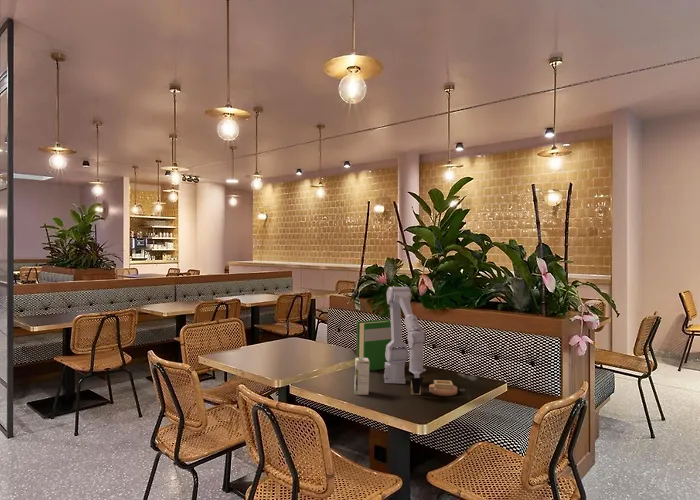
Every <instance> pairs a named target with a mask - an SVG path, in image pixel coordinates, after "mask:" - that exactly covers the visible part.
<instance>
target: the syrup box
mask: <svg viewBox="0 0 700 500" xmlns="http://www.w3.org/2000/svg"><path fill="white" fill-rule="evenodd" d="M354 359H355V360H354V362H355V363H354V383H353V384H354V388H353V389H354V390H353V391H354V395H355V396H360V395H361V396H364V395H365V396H366V395H367V396H368V395H369V391H370V388H369V387H370V371H369V359H368V358H357V357H355V358H354Z"/></svg>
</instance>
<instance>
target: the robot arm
mask: <svg viewBox="0 0 700 500" xmlns="http://www.w3.org/2000/svg"><path fill="white" fill-rule="evenodd" d="M411 297H412V292H411V289H410V287H409V286H389V287H388V288H387V290H386V302H387V304H386V305H389V313H390V314H389V315H390V321H391V342H390V343H388V344H387V345H386V351H385V357H386V360H387V361H388V362H385V369H384V374H383V379H384V383H385V384H399V385H400V384H401V385H403V384H405V385H406V378H405V368H406V367H405V365H406V362H407V361H408V359H409V367H408V373H409V375H410V376H409V379H410V382H411V381H412V385H413V392H414V393H417V394H419V391H420V386H421V387H422V383H423V381H424V376H422V374H423V373H424V372H426V371H427V369H426V368H424V344H425V343H426V341H427V334H426V331H425V329H423V327H421V326H420V322H419V320H418V317H417V316H416V315H415V314H414V313H413V312H414V311H413V309H412V305H411V301H410V300H411ZM402 312H403V314H404V320H403V322H404V325H405V327H406V330H407V343H408V344H406V343H405V342H404V341H403V332H402ZM408 348H409V349H408Z"/></svg>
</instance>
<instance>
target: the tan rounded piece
mask: <svg viewBox="0 0 700 500" xmlns="http://www.w3.org/2000/svg"><path fill="white" fill-rule="evenodd" d="M428 391H429V393H431V394H433V395H435V396H443V397H444V396H445V397H450V396H455V395H457V394H458V386H456V385H454V384H453V382H452V380H442V379H441V380H439V379H433V383H431V384H429V386H428Z"/></svg>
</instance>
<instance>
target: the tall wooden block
mask: <svg viewBox="0 0 700 500" xmlns="http://www.w3.org/2000/svg"><path fill="white" fill-rule="evenodd" d="M421 389H422V385H421V386H420V391H419V394H417V393H414V392H413V385H412V381H411V380H410V395H411V396H413V395H414V396H415V395H416V396H421V395H422V390H421Z"/></svg>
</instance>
